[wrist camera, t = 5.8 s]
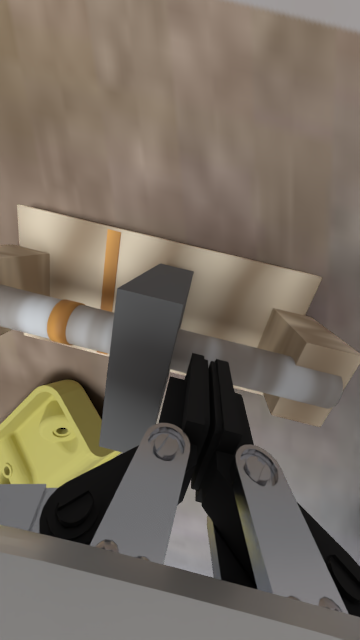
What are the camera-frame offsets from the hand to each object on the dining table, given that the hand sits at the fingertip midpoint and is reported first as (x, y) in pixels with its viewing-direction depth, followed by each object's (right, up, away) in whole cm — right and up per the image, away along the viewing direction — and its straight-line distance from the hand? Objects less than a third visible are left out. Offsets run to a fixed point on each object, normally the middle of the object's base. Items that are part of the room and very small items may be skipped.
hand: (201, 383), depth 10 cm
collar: (-2, +3, +6) cm, 7 cm away
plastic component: (-16, -11, +17) cm, 26 cm away
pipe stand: (-3, +4, +9) cm, 11 cm away
